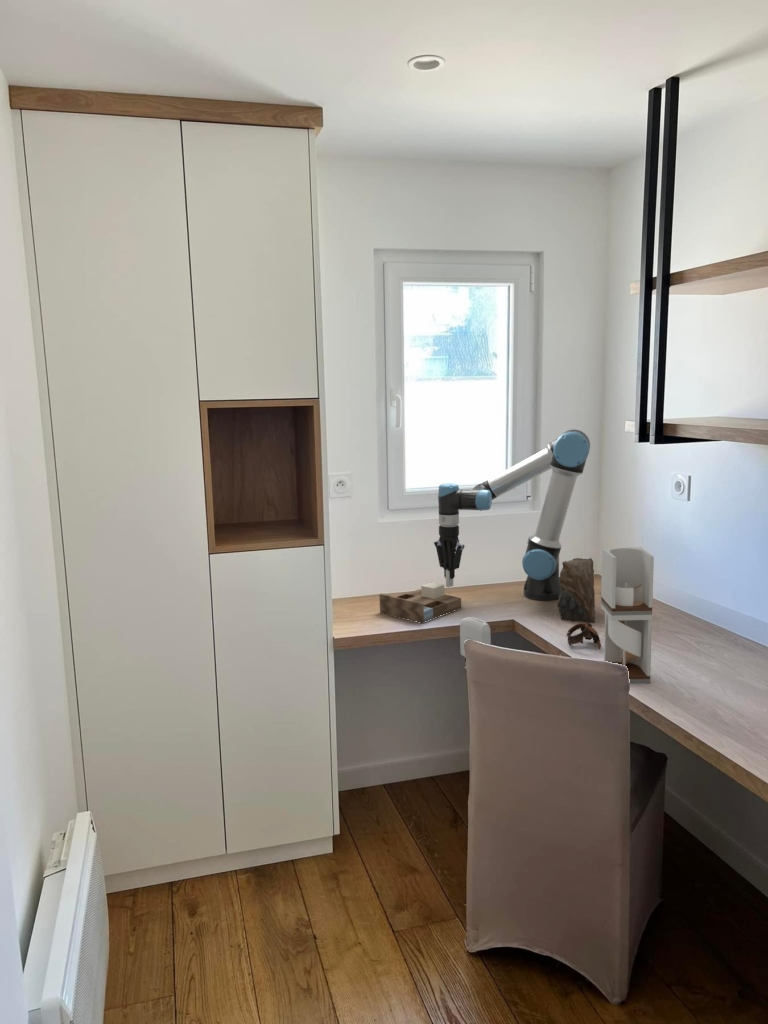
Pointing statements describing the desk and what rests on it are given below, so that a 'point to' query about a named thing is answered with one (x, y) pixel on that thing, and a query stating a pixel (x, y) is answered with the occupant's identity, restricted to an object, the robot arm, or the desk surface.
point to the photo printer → (474, 632)
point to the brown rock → (577, 591)
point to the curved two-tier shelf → (628, 609)
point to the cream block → (432, 590)
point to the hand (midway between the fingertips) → (449, 586)
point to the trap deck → (418, 606)
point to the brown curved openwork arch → (583, 634)
